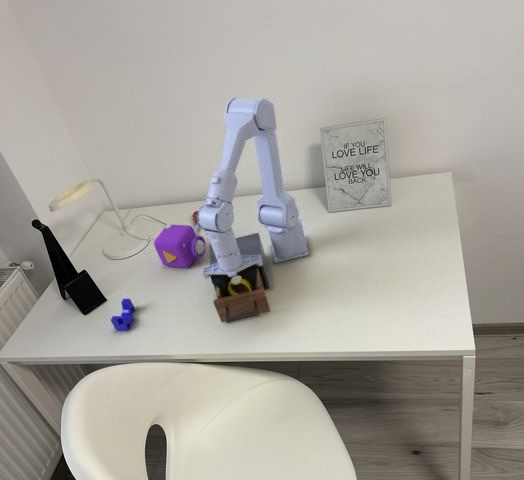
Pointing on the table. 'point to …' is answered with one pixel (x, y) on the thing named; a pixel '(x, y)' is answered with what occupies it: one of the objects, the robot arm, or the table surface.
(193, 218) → the scissors
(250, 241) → the cabinet
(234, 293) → the watch
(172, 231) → the toy camera
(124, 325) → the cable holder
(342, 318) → the table surface
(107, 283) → the table surface
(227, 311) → the drawer
